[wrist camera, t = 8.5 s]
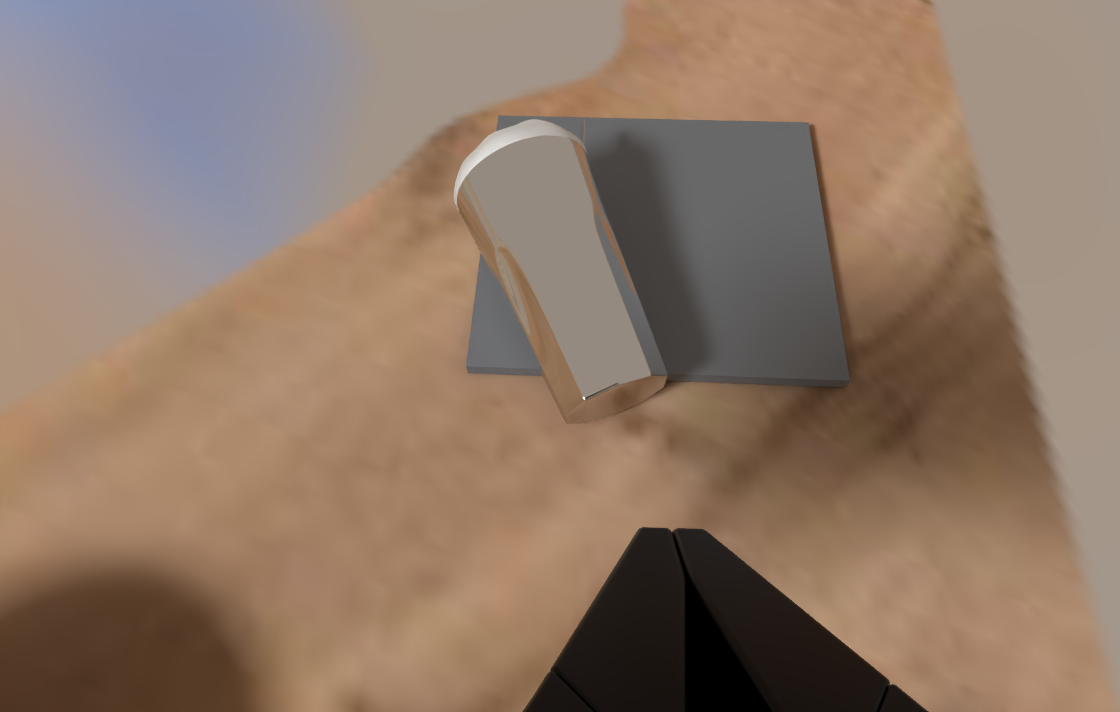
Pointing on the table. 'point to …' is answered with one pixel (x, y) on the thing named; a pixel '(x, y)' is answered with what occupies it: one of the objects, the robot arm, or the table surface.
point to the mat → (704, 251)
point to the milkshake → (560, 268)
